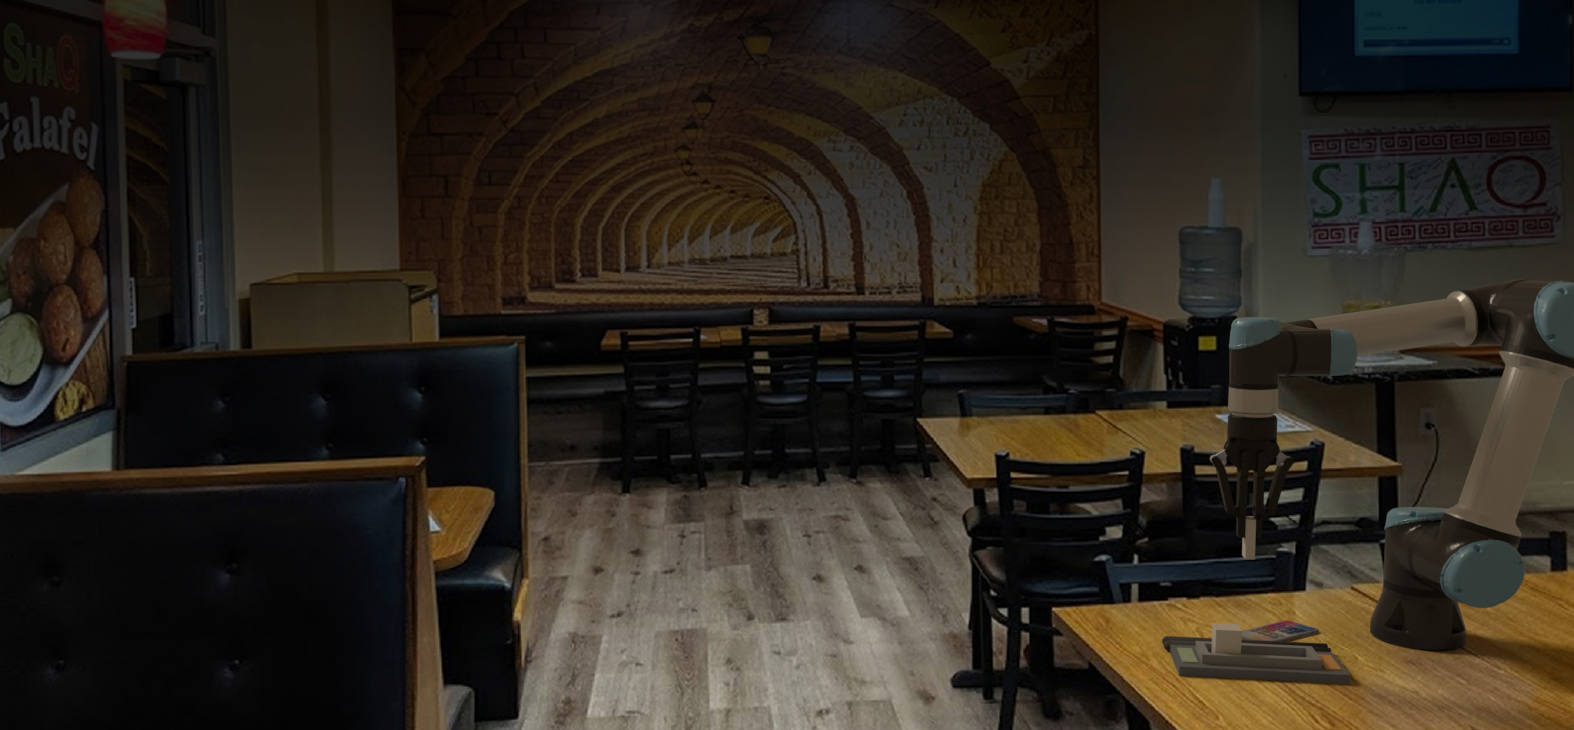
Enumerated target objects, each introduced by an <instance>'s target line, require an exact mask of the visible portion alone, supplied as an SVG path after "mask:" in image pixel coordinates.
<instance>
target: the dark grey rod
mask: <svg viewBox="0 0 1574 730" xmlns="http://www.w3.org/2000/svg"><path fill="white" fill-rule="evenodd" d="M1167 640H1176V641H1210V642H1212V637H1198V636H1197V637H1194V636H1193V637H1192V636H1173V635H1172V636H1171V635H1166V636H1163V637H1162V639H1161V643H1162V645H1163V646H1164V642H1165V641H1167ZM1241 643H1253V644H1274V645H1295V646H1312V647H1325V648H1329V645H1328V643H1325V642H1324V643H1321V642H1305V641H1303V642H1302V641H1299V642H1298V641H1287V642H1283V641H1262V640H1243V639H1241Z"/></svg>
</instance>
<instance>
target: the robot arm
mask: <svg viewBox="0 0 1574 730" xmlns="http://www.w3.org/2000/svg"><path fill="white" fill-rule="evenodd" d="M1230 327H1231V328H1230V332H1229V344H1228V349H1229V350H1228V351H1229V355H1228V357H1229V358H1228V359H1229V362H1228V363H1229V366H1228V367H1229V371H1228V372H1229V374H1228V375H1229V377H1228V378H1229V379H1228V380H1229V381H1228V401H1227V402H1228V403H1227V409H1228V410H1229V411H1230V412H1231V413H1229V414H1228V415H1227V433H1226V435H1227V436H1226V442H1224V445H1223V449H1222V450H1221V451H1219V452H1217V453H1216V454H1214V453H1211V454H1210V455H1209V461H1210V462H1211V464H1212V465H1213V466H1214V469H1215V470H1216V471H1215V472H1216V475H1217V479H1218V484H1219V489H1220V495H1221V498H1222V502H1223V506H1224V510H1225V511H1226V513H1228V515H1231V516H1234V517H1236V521H1235V523H1236V524H1235V525H1236V526H1235V527H1236V529H1235V530H1236V531H1235V534H1236V536H1237V537H1238V538H1240V539H1241V540H1242V541H1241V543H1242V544H1241V545H1242V547H1241V556H1242V557H1243V558H1244V560H1255V559H1256V539H1262V537H1263V523H1264V519H1265V518H1266V517H1270V516H1274V515H1275V514H1276V512H1277V507H1278V504H1279V500H1280V497H1281V494H1282V490H1283V488H1284V487H1283V486H1284V484H1285V481H1286V477H1287V473H1288V472H1289V470H1290V469H1291V468H1292V466H1293V465H1294V463H1295V460H1294V458H1292V457H1291V456H1290V455H1286V454H1284V453H1283V452H1282V451H1281V449H1280V448H1281V447H1280V445H1279V444H1278V417H1277V416H1276V413H1277V412H1278V411H1279V408H1278V407H1279V387H1280V386H1279V380H1280V377H1328V378H1331V377H1332V376H1333V377H1334V376H1335V377H1336V376H1345V375H1348V374H1350V373H1352V371H1353V370H1354V369H1355V366H1356V364H1357V361H1358V357H1361V356H1368V355H1373V354H1374V355H1375V354H1381V353H1387V352H1388V353H1389V352H1395V351H1404V350H1409V349H1416V348H1423V347H1430V346H1436V345H1444V344H1451V343H1454V344H1455V345H1457V346H1459V347H1462V348H1463V347H1470V346H1477V345H1478V346H1479V345H1480V346H1486V345H1487V346H1498V347H1499V346H1500V349H1499V352H1498V354H1499V355H1500V357H1501V360H1502V361H1503V363H1504V367H1505V368H1504V370H1503V373H1502V376H1501V378H1500V381H1499V383H1498V386H1497V387H1498V388H1497V390H1496V394H1495V396H1494V399H1493V402H1492V405H1491V407H1490V410H1489V414H1488V416H1487V419H1486V421H1485V422H1486V423H1485V425H1484V428H1483V430H1482V434H1481V436H1480V438H1479V441H1478V444H1477V448H1476V451H1475V454H1474V457H1473V459H1472V462H1471V465H1470V468H1469V471H1468V474H1467V476H1466V480H1465V483H1464V485H1463V488H1462V491H1461V493H1460V497H1459V499H1458V502H1457V504H1455V505H1454V506H1451V507H1449V508H1447V507H1432V506H1431V507H1427V506H1402V507H1395V508H1394V507H1393V508H1392V509H1389V511H1388V512H1387V514H1386V520H1385V525H1384V529H1383V530H1384V531H1385V532H1384V552H1383V553H1384V555H1383V556H1384V559H1383V577H1382V578H1383V582H1382V591H1381V594H1380V595H1379V598H1378V601H1377V602H1376V605H1375V607H1374V609H1373V612H1372V614H1371V617H1370V621H1369V622H1370V623H1369V625H1370V626H1369V627H1370V628H1369V632H1370V633H1371V635H1372V636H1373V637H1375V638H1376V639H1379V640H1381V641H1384V642H1387V643H1389V644H1391V645H1392V644H1393V645H1397V646H1401V647H1406V648H1411V649H1416V650H1417V649H1418V650H1428V651H1429V650H1431V651H1445V650H1454V649H1459V648H1462V647H1464V646H1465V645H1466V643H1467V628H1466V625H1465V622H1464V619H1463V615H1462V611H1461V608H1460V605H1459V603H1461V604H1462V605H1465V606H1468V607H1472V608H1476V609H1488V608H1494V607H1496V606H1497V607H1498V606H1499V605H1500V604H1503V603H1505V602H1507V601H1508V600H1510V599H1511V598H1512V597H1513V596H1514V595H1515V594H1516V593H1517V592H1518V590H1519V589H1520V588H1521V586H1522V583H1523V581H1524V578H1525V574H1526V568H1525V563H1524V562H1523V559H1522V556H1521V554H1520V552H1519V551H1518V547H1519V544H1520V542H1521V538H1522V537H1523V536H1522V535H1523V534H1522V532H1521V531H1520V528H1519V527H1518V526H1517V523H1516V521H1517V518H1518V515H1519V511H1520V509H1521V507H1522V503H1523V501H1524V498H1525V494H1526V492H1527V489H1528V486H1529V483H1530V481H1531V478H1532V474H1533V472H1534V469H1535V466H1536V463H1537V461H1538V458H1539V456H1540V452H1541V449H1542V446H1543V444H1544V441H1545V437H1546V435H1547V432H1548V429H1549V427H1550V423H1551V421H1552V418H1553V415H1554V411H1555V409H1556V407H1557V403H1558V401H1559V398H1560V395H1561V392H1562V389H1563V386H1564V383H1565V382H1566V381H1567V380H1568V379H1570V378H1572V377H1574V282H1572V281H1565V280H1557V281H1556V280H1535V279H1533V280H1532V279H1528V278H1527V279H1525V278H1524V279H1522V278H1521V279H1512V280H1506V281H1502V282H1497V283H1491V284H1488V285H1486V284H1485V285H1481V286H1478V287H1477V286H1476V287H1474V288H1468V289H1467V288H1466V289H1461V290H1455V291H1453V292H1450V293H1449V295H1447V297H1446V298H1441V299H1435V300H1429V301H1422V302H1415V303H1407V304H1401V305H1395V306H1389V307H1388V306H1387V307H1380V308H1374V309H1367V310H1362V311H1355V312H1349V313H1342V314H1334V315H1327V316H1321V317H1320V316H1319V317H1314V318H1308V319H1301V320H1294V321H1288V322H1286V321H1285V322H1282V321H1281V320H1280V319H1279V318H1275V317H1267V316H1266V317H1263V316H1259V317H1258V316H1245V317H1244V316H1243V317H1242V316H1241V317H1237V318H1235V319H1234V320H1233V321H1232V323H1231V326H1230ZM1227 458H1228V459H1229V460H1230V461H1231V463H1232V465H1234V468H1236V502H1234V500H1233V495H1232V491H1231V486H1230V481H1229V478H1228V473H1227V470H1226V467H1225V466H1226V465H1227V463H1228V462H1227ZM1275 460H1276V461H1275ZM1274 461H1275V464H1276V465H1277V466H1275V470H1274V474H1273V477H1272V480H1271V484H1270V487H1269V491H1268V495H1267V497H1266V502H1265V478H1266V470H1267V469H1268V468H1269V467H1270V465H1271V464H1272V463H1273V462H1274ZM1250 472H1252V474H1253V485H1252V486H1253V487H1252V488H1253V489H1252V490H1253V491H1252V514H1253V515H1251V516H1250V515H1248V513H1247V512H1248V509H1247V508H1248V490H1249V489H1248V487H1249V486H1248V485H1249V484H1248V482H1249V476H1250V475H1249V474H1250ZM1234 503H1235V504H1236V505H1235V504H1234Z"/></svg>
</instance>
